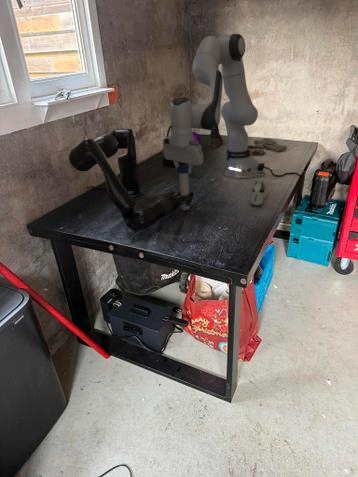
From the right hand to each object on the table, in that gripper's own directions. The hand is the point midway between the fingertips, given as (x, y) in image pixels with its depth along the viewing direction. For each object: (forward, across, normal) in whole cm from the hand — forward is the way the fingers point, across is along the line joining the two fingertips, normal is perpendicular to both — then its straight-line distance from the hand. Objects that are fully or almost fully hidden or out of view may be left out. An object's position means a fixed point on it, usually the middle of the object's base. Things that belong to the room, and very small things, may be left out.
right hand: (183, 171), depth 145 cm
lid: (-2, 0, 0) cm, 2 cm away
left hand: (+11, 0, -3) cm, 11 cm away
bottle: (+18, 0, 0) cm, 18 cm away
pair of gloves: (+18, +21, -104) cm, 108 cm away
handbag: (+18, +52, -50) cm, 74 cm away
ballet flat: (+18, -21, -30) cm, 41 cm away
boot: (+18, +56, -100) cm, 116 cm away
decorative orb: (+18, +58, -72) cm, 94 cm away
